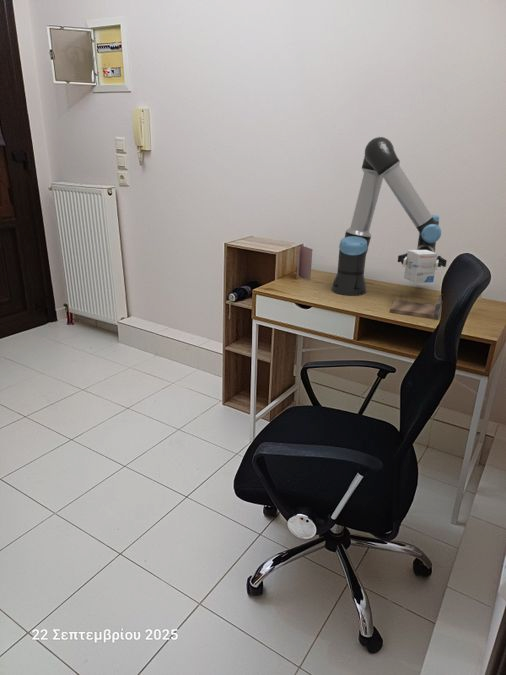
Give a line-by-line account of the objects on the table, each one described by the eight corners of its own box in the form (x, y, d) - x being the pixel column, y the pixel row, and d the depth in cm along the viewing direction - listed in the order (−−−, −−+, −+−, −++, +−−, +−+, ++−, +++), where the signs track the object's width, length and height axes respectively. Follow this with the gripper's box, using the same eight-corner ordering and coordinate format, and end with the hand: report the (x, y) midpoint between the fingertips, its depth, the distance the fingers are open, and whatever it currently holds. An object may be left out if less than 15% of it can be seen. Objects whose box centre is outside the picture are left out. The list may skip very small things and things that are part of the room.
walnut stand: (389, 312, 190) (391, 297, 188) (395, 303, 202) (397, 289, 200) (437, 319, 183) (440, 304, 181) (441, 309, 195) (443, 295, 193)
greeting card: (297, 274, 245) (299, 245, 240) (312, 275, 244) (314, 245, 238) (294, 280, 234) (296, 249, 229) (310, 281, 233) (312, 250, 228)
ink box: (422, 277, 200) (426, 249, 196) (433, 282, 192) (438, 253, 188) (403, 278, 198) (407, 249, 194) (413, 283, 190) (418, 253, 186)
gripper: (452, 266, 205) (450, 277, 186) (394, 260, 213) (387, 270, 195) (455, 248, 203) (454, 258, 184) (396, 243, 211) (390, 252, 192)
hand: (420, 264), depth 189 cm, fingers closed on ink box, 11 cm apart
